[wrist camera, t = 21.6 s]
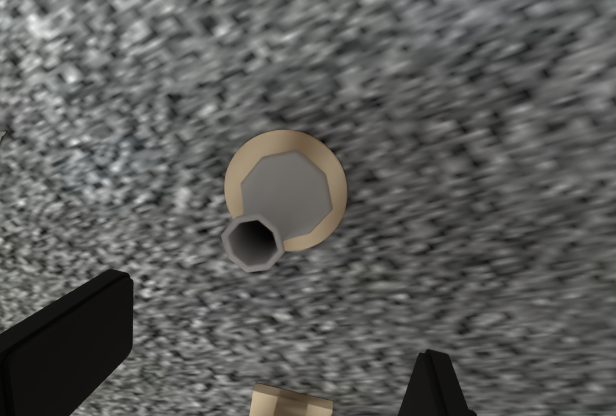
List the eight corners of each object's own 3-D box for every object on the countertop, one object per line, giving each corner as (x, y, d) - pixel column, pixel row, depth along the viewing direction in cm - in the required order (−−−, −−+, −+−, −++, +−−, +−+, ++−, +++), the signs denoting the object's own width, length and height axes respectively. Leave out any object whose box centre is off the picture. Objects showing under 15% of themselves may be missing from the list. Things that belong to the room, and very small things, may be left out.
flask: (273, 251, 28) (234, 325, 18) (226, 178, 26) (157, 217, 17) (348, 212, 26) (349, 271, 16) (302, 132, 24) (272, 146, 15)
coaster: (359, 142, 25) (359, 143, 24) (333, 258, 28) (333, 262, 27) (234, 118, 26) (230, 119, 25) (222, 234, 29) (219, 237, 28)
